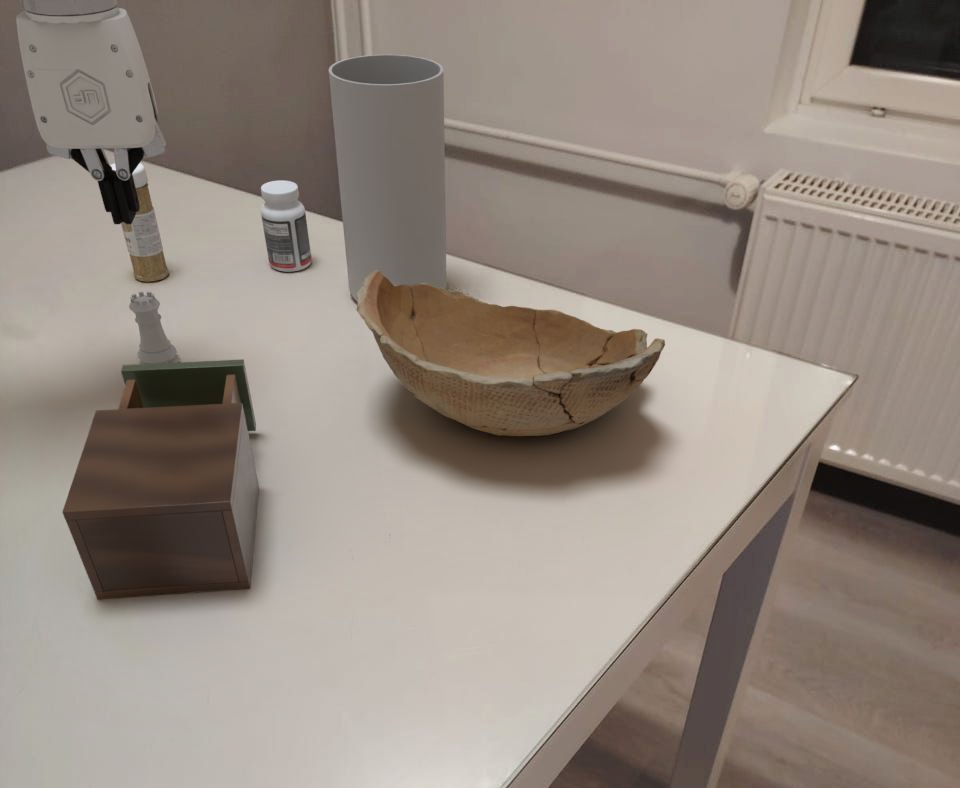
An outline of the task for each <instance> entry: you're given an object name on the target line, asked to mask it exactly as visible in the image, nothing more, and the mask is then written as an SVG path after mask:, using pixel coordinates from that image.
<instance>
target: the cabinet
mask: <svg viewBox="0 0 960 788" xmlns="http://www.w3.org/2000/svg"><path fill="white" fill-rule="evenodd" d="M255 465H256V464H255V461H254V455H253V450H252V445H251V441H250V435H249V431H248V430H247V425H246V420H245V415H244V410H243V405H242V403H230V404H211V405H191V406H172V407H152V408H133V409H119V408H116V409H115V408H114V409H113V408H112V409H97V410H95V412H94V416H93V417H92V422H91V424H90V428H89V430H88V434H87V436H86V440H85V443H84V445H83V448H82V452H81V454H80V458H79V461H78V463H77V467H76V470H75V473H74V475H73V479H72V481H71V484H70V488H69V491H68V493H67V497H66V501H65V503H64V506H63V509H62V512H61V513H62V515H63V518H64V519H65V522H66V525H67V527H68V529H69V532H70V535H71V537H72V540H73V542H74V545H75V547H76V550H77V552H78V555H79V557H80V559H81V562H82V564H83V567H84V570H85V572H86V575H87V578H88V580H89V582H90V585H91V587H92V590H93V592H94V595H95V598H96V600H104V599H105V600H106V599H119V598H120V599H121V598H133V597H147V596H162V595H176V594H188V593H203V592H218V591H230V590H231V591H233V590H246V589H247V590H248V589H251V583H252V573H253V572H252V570H253V561H254V560H253V558H254V547H255V536H256V524H257V513H258V511H257V510H258V500H259V489H260V485H259V481H258V480H259V479H258V475H257V471H256V466H255Z"/></svg>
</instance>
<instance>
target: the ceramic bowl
mask: <svg viewBox="0 0 960 788" xmlns="http://www.w3.org/2000/svg"><path fill="white" fill-rule="evenodd" d="M357 299H358V302H357V305H356V311H357V313H358V315H359V316H360V318H361V319H362V320H363V321H364V323H365V325H366V327H367V328H368V330H369V331H371V332H372V334H373V337H374V340H375V342H376V344H377V346H378V349H379V351H380V353H381V355H382V357H383V359H384V361H385V362H386V364H387V365H388V367H389V368H390V370H391V372H392V373H393V374H394V376H395V377H396V378H397V380H399V381H400V382H401V384H402V386H403V387H404V388H405V389H407V390H408V391H409V392H410V393H411V394H413V396H414V398H416V399H417V400H419V401H420V402H422V403H423V404H425V405H426V406H428V407H429V408H431V409H433V410H434V411H436V412H437V413H439V414H440V415H442V416H444V417H446V418H448V419H451V420H453V421H456V422H458V423H460V424H462V425H465V426H466V427H468V428H471V429H474V430H477V431H480V432H483V433H488V434H491V435H495V436H499V437H501V436H507V437H541V436H550V435H555V434H559V433H561V432H565V431H571V430H575V429H578V428H580V427H582V426H584V425H587V424H589V423H591V422H593V421H595V420H598V419H599V418H600V417H601V418H602V416H603V415H604V414H606V413H608V412H609V411H611V410H612V409H614V408H615V407H617V406H619V405H620V404H622V403H623V402H624V401H625V400H626V399H627V398H628V397H629V396H630V395H631V394H632V393H634V392H635V391H636V390H637V388H639V386H640V385H641V384H642V383H644V381H645V380H646V378H648V376H649V375H650V374H651V372H652V371H653V369H654V368H655V366H656V364H657V362H658V361H659V359H660V357H661V354H662V352H663V350H664V348H665V346H666V340H665V339H663V338H658V337H657V338H654V339H653V341H652V342H651V343H650V344H649V346H648V345H647V344H648V342H647V338H648V333H647V332H645V330H644V329H640V328H639V329H638V328H632V329H629V330H621V331H617V332H616V331H615V330H612V329H604V328H600V327H598V326H595V325H593V324H592V323H590V322H588V321H587V320H583V319H580V318H578V317H577V316H573V315H570V314H567V313H564V312H562V311H560V310H556V309H553V308H552V309H535V308H532V307H526V306H525V307H524V306H517V305H508V306H502V305H499V304H494V303H493V304H492V303H487V302H484V301H482V300H480V299H478V298H476V297H474V296H471V295H467V294H466V293H464V292H462V291H461V290H460V289H452V290H451V289H447V288H446V289H444V288H439V287H435V286H431V285H429V284H428V283H421V284H416V285H411V286H409V285H405V284H402V285H393V284H392V283H391V282H390V281H389V280H388V279H387V278H386V277H384V276H383V275H382V273H381V272H380V271H379V270H375V271H373V272H371V273H369V274H368V275H367V276H366V277H365V279H364V282H363V284H361V286H360V289H359V291H358V292H357Z"/></svg>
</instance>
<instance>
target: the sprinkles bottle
mask: <svg viewBox="0 0 960 788" xmlns="http://www.w3.org/2000/svg"><path fill="white" fill-rule="evenodd" d="M109 165H110V166H111V167H112V170H115V171H116V166H115V162H114V163H112V164H109ZM147 174H148V173H147V170H146V168H145V166H144V164H143V163H141V162H140V163H139V165H138V166H137V167H136V169H135V170H134V172H133V173H132V175H133V179H134V183H135V187H136V192H137V196H138V200H139V205H140V209H139V211H138V212H136V215H135V217H134V220H133V222H132V224H125V223H123V222H122V223H121V224H120V225H121V229H122V233H123V237H124V240H125V244H126V248H127V252H128V254H129V258H130V262H131V265H132V270H133V277H134V278H135V279H136V280H137V281H140V282H144V283H145V282H147V283H148V282H156V281H160V280H161V281H162V280H163V279H165V278H166V277H167V276H168V275H169V273H170V270H169V268H168V266H167V262H166V258H165V253H164V247H163V243H162V242H163V241H162V238H161V234H160V230H159V229H160V228H159V225H158V221H157V217H156V212H155V208H154V206H153V201H152V199H151V194H150V189H149V183H148V182H149V179H148V175H147Z"/></svg>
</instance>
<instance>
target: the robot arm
mask: <svg viewBox="0 0 960 788" xmlns="http://www.w3.org/2000/svg"><path fill="white" fill-rule="evenodd" d="M18 2H19V4H20V7H21V8H22V9H24V11H23V10H22V12H20V13H18V14H17V15H16V16H15V20H16V21H15V23H16V30H17V31H16V32H17V39H18V45H19V51H20V56H21V61H22V67H23V72H24V76H25V77H24V78H25V82H26V86H27V91H28V96H29V99H30V104H31V108H32V112H33V116H34V120H35V123H36V126H37V127H36V128H37V130H38V132H39V134H40V137H41V139H42V141H44V142H45V147H46V152H47V153H48V154H49V155H51V156H55V157H58V158H61V159H68V160H73V161H74V162H75V163H76V164H78V165H79V166H81V168H83V169H84V170H85V171H86V172H88V173H89V174H90V176H91V178H92V179H93V180H94V181H97V185H98V188H99V192H100V196H101V199H102V204H103V207H104V210H105V212H106V213H110V215H111V218H112V222H113V224H114V225H121V223H122V222H123V223H125V224H132V222H133V220H134V217H135V215H136V212H138V211H139V209H140V205H139V200H138V196H137V192H136V187H135V183H134V179H133V175H132V173H133V172H134V170H135V169H136V167H137V166H138V165H139V163H141V162H142V160H145V159H150V158H153V157H157V156H160V155H163V154H164V153H165V151H166V149H167V147H168V145H167V141H166V140H165V136H164V135H163V133H162V131H161V128H160V115H159V109H158V105H157V104H158V103H157V100H156V97H155V93H154V88H153V86H152V82H151V79H150V75H149V71H148V68H147V64H146V62H145V59H144V55H143V52H142V48H141V46H140V43H139V40H138V37H137V33H136V31H135V29H134V26H133V23H132V21H131V19H130V16H129V14H128V12H127V10H126V9H124V8H120V7H119V5H118V0H18ZM105 149H113V155H114V156H113V157H114V163H115V166H116V171H115V170H112V167H111V166H110V165H111V164H110V162H109V159H108V157H107V155H106V152H105Z"/></svg>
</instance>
